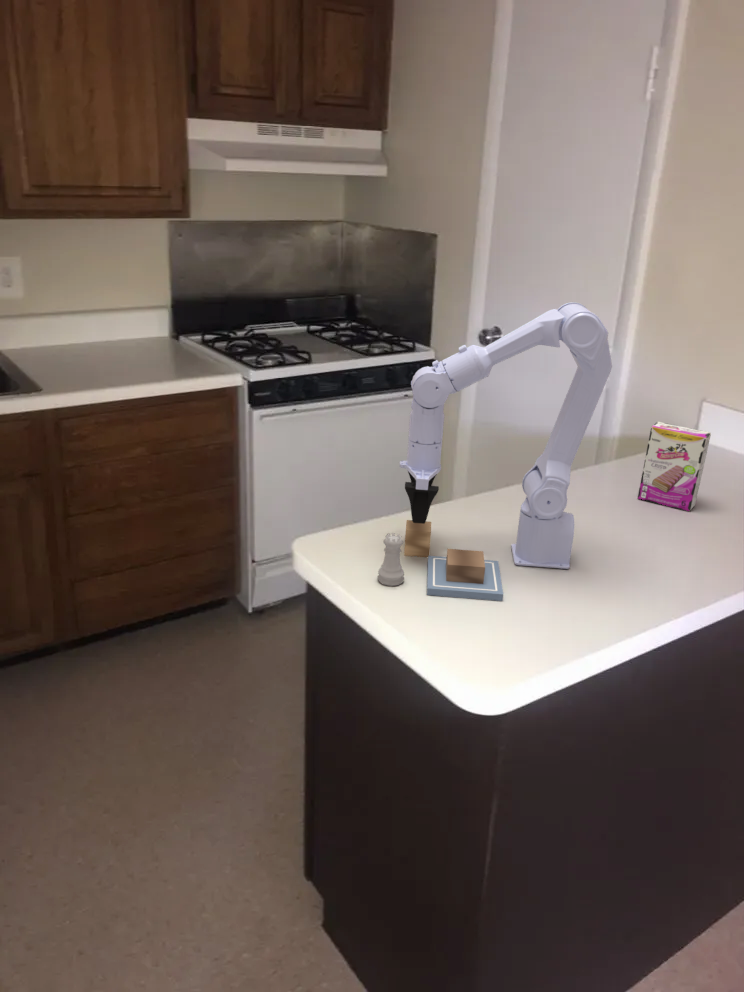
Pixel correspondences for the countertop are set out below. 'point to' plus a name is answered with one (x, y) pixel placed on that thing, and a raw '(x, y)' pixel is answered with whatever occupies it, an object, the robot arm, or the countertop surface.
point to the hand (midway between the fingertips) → (419, 513)
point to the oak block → (417, 539)
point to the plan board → (467, 585)
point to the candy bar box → (673, 465)
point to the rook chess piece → (391, 562)
